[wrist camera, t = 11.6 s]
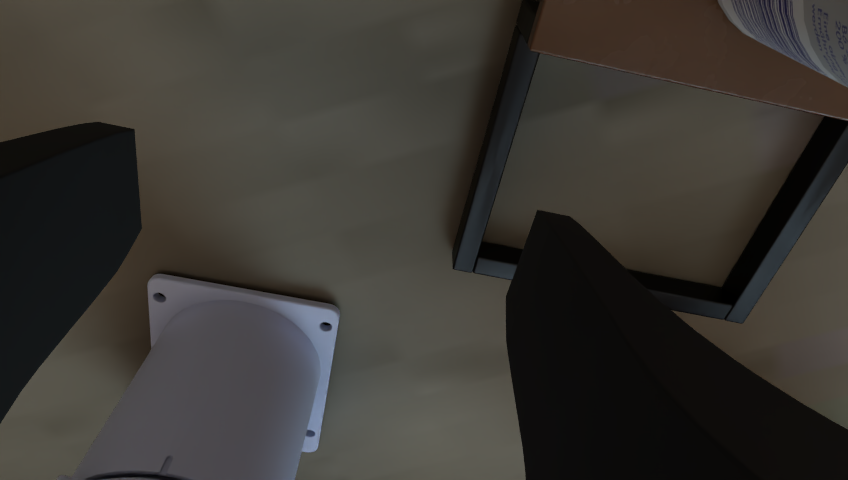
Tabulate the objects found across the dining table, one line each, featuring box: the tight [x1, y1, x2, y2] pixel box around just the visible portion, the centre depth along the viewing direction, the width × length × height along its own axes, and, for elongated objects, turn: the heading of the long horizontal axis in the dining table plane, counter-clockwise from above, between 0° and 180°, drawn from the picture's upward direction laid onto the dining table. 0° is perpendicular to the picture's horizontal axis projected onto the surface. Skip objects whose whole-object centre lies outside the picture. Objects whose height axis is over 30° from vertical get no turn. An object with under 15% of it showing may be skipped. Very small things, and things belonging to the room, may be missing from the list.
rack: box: [452, 0, 848, 323], centre depth 17 cm, size 18×12×5 cm, turn 168°
